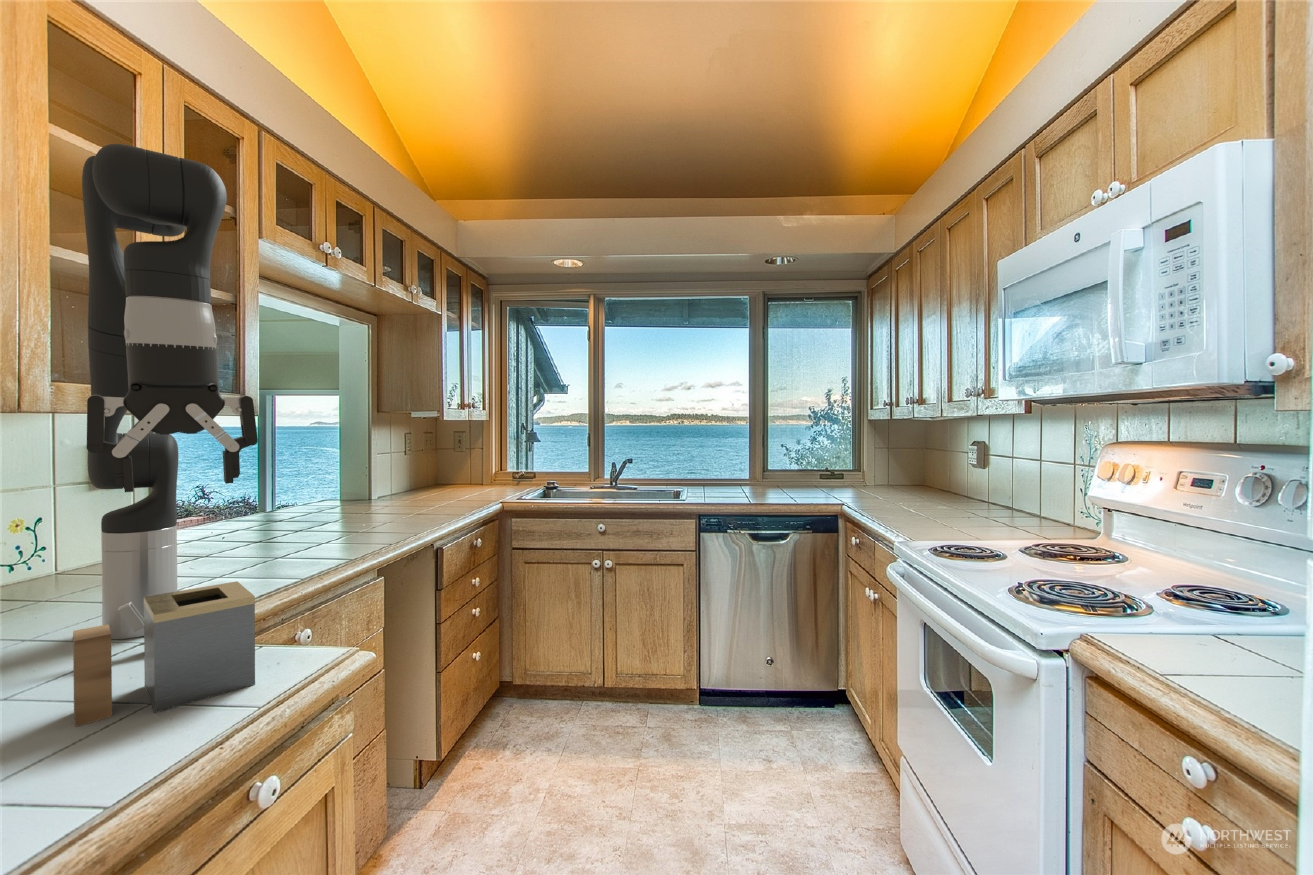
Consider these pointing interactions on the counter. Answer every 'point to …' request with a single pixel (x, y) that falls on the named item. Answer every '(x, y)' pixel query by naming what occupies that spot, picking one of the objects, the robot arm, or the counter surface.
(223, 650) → the coin box
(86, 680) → the wooden block
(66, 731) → the counter surface
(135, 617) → the lighter
